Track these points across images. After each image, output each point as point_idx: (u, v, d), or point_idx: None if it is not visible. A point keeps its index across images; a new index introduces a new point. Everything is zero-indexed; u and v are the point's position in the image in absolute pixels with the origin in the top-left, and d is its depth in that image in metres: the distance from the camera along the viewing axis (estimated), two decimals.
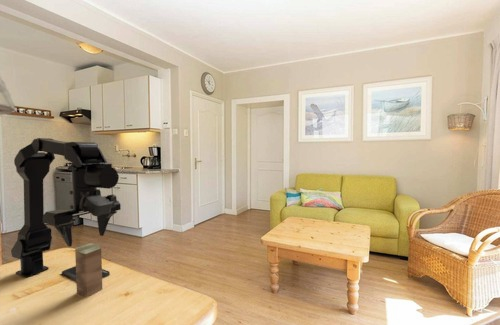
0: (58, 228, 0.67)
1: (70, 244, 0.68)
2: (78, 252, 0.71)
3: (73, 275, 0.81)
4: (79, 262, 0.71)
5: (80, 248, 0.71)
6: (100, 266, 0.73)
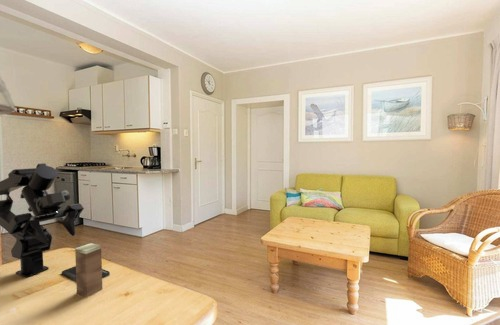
0: (30, 233, 0.74)
1: (46, 240, 0.74)
2: (78, 252, 0.71)
3: (73, 275, 0.81)
4: (79, 262, 0.71)
5: (80, 248, 0.71)
6: (100, 266, 0.73)
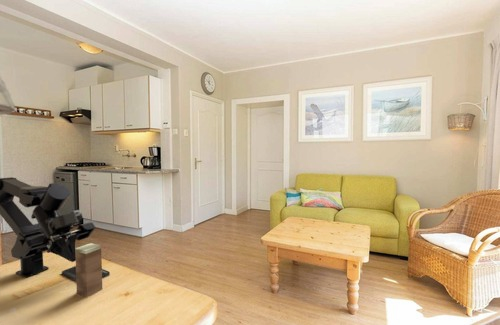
0: (57, 252, 0.75)
1: (72, 258, 0.75)
2: (78, 252, 0.71)
3: (73, 275, 0.81)
4: (79, 262, 0.71)
5: (80, 248, 0.71)
6: (100, 266, 0.73)
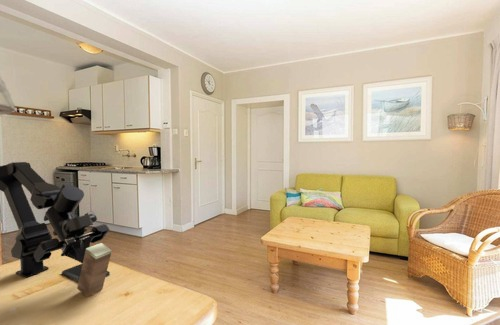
0: (71, 255, 0.73)
1: None
2: (88, 253, 0.69)
3: (73, 275, 0.81)
4: (87, 263, 0.69)
5: (91, 250, 0.69)
6: (106, 269, 0.73)
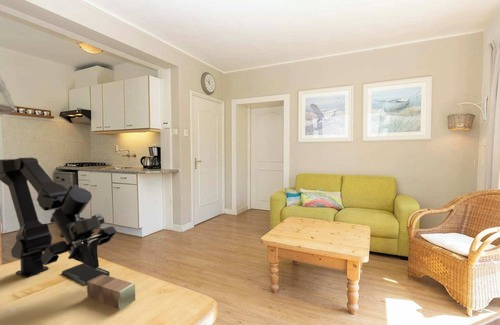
0: (78, 258, 0.71)
1: (95, 265, 0.71)
2: (118, 296, 0.65)
3: (73, 275, 0.81)
4: (110, 295, 0.66)
5: (122, 296, 0.65)
6: None
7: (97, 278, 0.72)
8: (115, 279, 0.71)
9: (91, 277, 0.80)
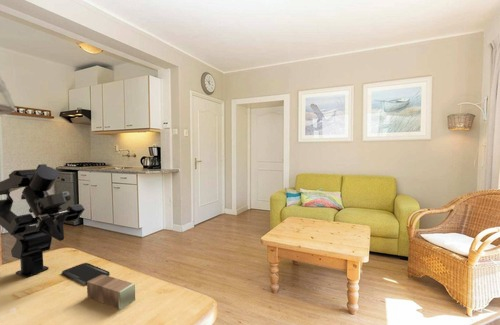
0: (45, 231, 0.77)
1: (60, 237, 0.77)
2: (118, 296, 0.65)
3: (73, 275, 0.81)
4: (110, 295, 0.66)
5: (122, 296, 0.65)
6: None
7: (97, 278, 0.72)
8: (115, 279, 0.71)
9: (91, 277, 0.80)
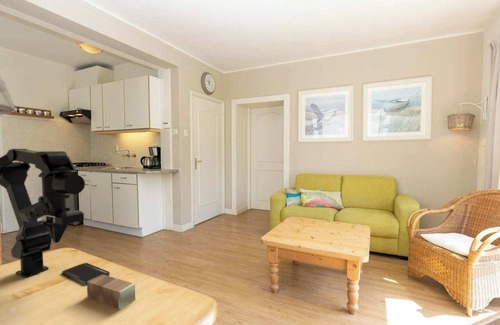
0: None
1: (53, 240, 0.78)
2: (118, 296, 0.65)
3: (73, 275, 0.81)
4: (110, 295, 0.66)
5: (122, 296, 0.65)
6: None
7: (97, 278, 0.72)
8: (115, 279, 0.71)
9: (91, 277, 0.80)
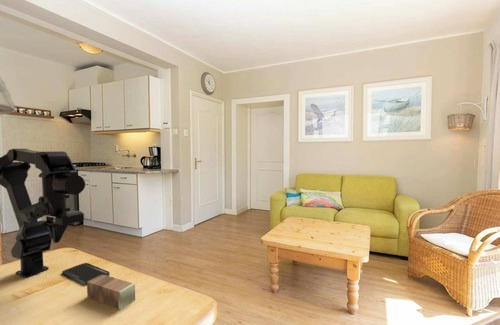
0: None
1: (53, 240, 0.78)
2: (118, 296, 0.65)
3: (73, 275, 0.81)
4: (110, 295, 0.66)
5: (122, 296, 0.65)
6: None
7: (97, 278, 0.72)
8: (115, 279, 0.71)
9: (91, 277, 0.80)
